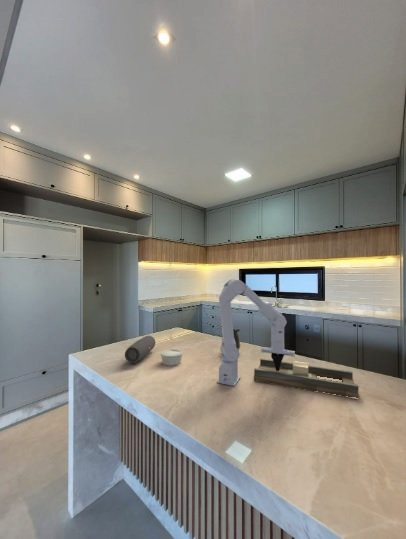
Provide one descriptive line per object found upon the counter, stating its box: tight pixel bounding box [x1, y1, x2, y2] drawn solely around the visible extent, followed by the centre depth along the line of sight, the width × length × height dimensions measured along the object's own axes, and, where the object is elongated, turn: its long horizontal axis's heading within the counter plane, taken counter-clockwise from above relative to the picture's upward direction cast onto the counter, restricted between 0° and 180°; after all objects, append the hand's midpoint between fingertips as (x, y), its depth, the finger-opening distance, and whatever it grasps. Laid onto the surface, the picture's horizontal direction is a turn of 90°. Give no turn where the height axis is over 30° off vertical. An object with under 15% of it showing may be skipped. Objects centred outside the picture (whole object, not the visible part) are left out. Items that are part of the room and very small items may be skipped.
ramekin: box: [160, 349, 184, 367], centre depth 127 cm, size 11×11×5 cm
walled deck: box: [253, 358, 360, 399], centre depth 105 cm, size 17×39×4 cm, turn 66°
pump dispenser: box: [233, 326, 241, 352], centre depth 142 cm, size 10×10×15 cm
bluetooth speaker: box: [124, 335, 157, 364], centre depth 133 cm, size 23×9×10 cm, turn 171°
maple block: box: [292, 360, 309, 377], centre depth 105 cm, size 6×6×5 cm
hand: (277, 370), depth 109 cm, fingers closed
